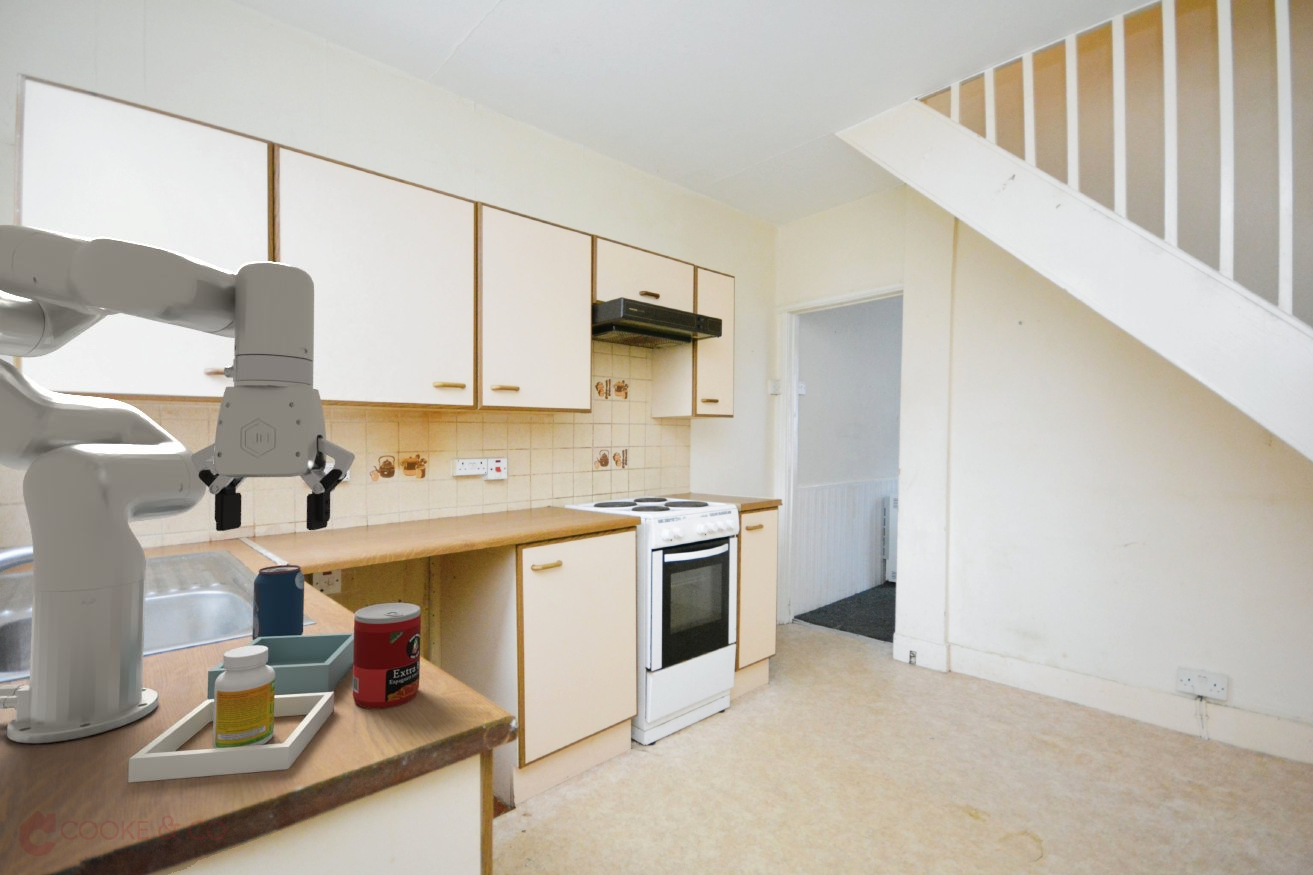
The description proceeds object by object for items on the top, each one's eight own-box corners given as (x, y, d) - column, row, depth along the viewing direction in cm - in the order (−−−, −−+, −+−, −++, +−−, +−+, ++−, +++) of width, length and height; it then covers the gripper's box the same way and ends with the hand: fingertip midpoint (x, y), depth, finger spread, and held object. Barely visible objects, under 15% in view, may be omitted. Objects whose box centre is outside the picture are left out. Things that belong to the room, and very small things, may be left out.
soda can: (312, 637, 99) (314, 565, 100) (280, 651, 93) (282, 573, 93) (275, 635, 100) (277, 563, 101) (240, 648, 94) (243, 571, 94)
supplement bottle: (280, 741, 64) (283, 650, 65) (219, 760, 60) (222, 663, 61) (265, 725, 68) (267, 639, 68) (206, 742, 64) (209, 650, 64)
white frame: (128, 782, 56) (129, 758, 56) (206, 718, 70) (206, 699, 70) (288, 769, 59) (288, 746, 59) (333, 710, 72) (334, 691, 72)
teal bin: (207, 703, 73) (208, 670, 74) (257, 664, 87) (258, 636, 87) (328, 696, 76) (328, 664, 76) (358, 659, 89) (359, 632, 90)
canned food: (395, 712, 72) (397, 620, 72) (337, 705, 73) (339, 615, 74) (431, 688, 79) (433, 604, 80) (378, 682, 81) (380, 600, 81)
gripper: (170, 371, 63) (167, 534, 63) (336, 372, 64) (335, 533, 64) (219, 380, 71) (217, 525, 70) (367, 380, 71) (366, 524, 71)
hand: (273, 529), depth 67 cm, fingers open, 9 cm apart
